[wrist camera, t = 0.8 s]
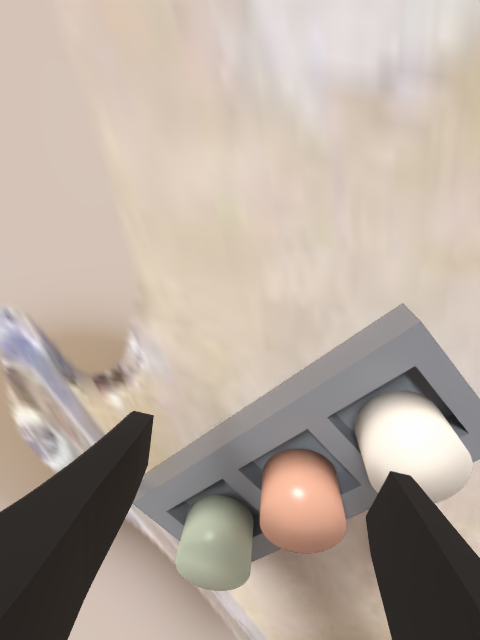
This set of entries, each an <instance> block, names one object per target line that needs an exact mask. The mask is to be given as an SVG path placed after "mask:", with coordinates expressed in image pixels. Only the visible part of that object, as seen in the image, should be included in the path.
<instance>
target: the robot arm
mask: <svg viewBox="0 0 480 640" xmlns="http://www.w3.org/2000/svg"><path fill="white" fill-rule="evenodd" d="M153 417H154V415H149V414H145V413H141V412H136V411H133V412H131V413H130V414H129V415H127V416H126V417H125V418H124V419H123V420H122V421H121V422H120V423H119V424H117V425H116V426H115V427H114V428H113V429H112V430H111V431H110V432H108V433H107V434H106V435H105V436H104V437H102V438H101V439H100V440H99V441H98V442H97V443H95V444H94V445H93V446H92V447H90V448H89V449H88V450H87V451H85V452H84V453H83V454H82V455H80V456H79V457H78V458H77V459H75V460H74V461H73V462H72V463H70V464H69V465H68V466H66V467H65V468H63V469H62V470H61V471H59V472H58V473H57V474H55V475H54V476H53V477H51V478H50V479H48V480H47V481H46V482H44V483H43V484H42V485H40V486H39V487H37V488H36V489H34V490H33V491H32V492H30V493H29V494H27V495H26V496H24V497H23V498H21V499H20V500H18V501H17V502H15V503H14V504H12V505H10V506H9V507H7V508H6V509H4V510H3V511H1V512H0V640H67V639H68V637H69V635H70V632H71V630H72V627H73V625H74V623H75V620H76V618H77V615H78V613H79V611H80V608H81V606H82V604H83V601H84V599H85V597H86V595H87V593H88V591H89V588H90V586H91V584H92V582H93V580H94V578H95V576H96V574H97V572H98V570H99V568H100V566H101V564H102V562H103V560H104V558H105V556H106V555H107V553H108V550H109V549H110V547H111V545H112V543H113V541H114V539H115V537H116V535H117V533H118V531H119V529H120V527H121V525H122V523H123V521H124V519H125V517H126V515H127V513H128V511H129V509H130V507H131V505H132V503H133V501H134V499H135V497H136V494H137V492H138V489H139V487H140V484H141V481H142V479H143V476H144V474H145V471H146V468H147V466H148V459H149V451H150V442H151V434H152V425H153ZM366 522H367V530H368V538H369V545H370V552H371V557H372V561H373V566H374V570H375V574H376V578H377V582H378V586H379V590H380V594H381V598H382V601H383V605H384V609H385V613H386V617H387V621H388V625H389V629H390V633H391V637H392V640H480V558H479V557H478V555H477V554H476V553H475V552H474V551H473V550H472V548H471V547H470V546H469V545H468V544H467V542H466V541H465V540H464V539H463V538H462V537H461V535H460V534H459V533H458V532H457V530H456V529H455V528H454V527H453V526H452V524H451V523H450V522H449V521H448V520H447V518H446V517H445V516H444V515H443V513H442V512H441V511H440V510H439V509H438V507H437V506H436V505H435V504H434V503H433V501H432V500H431V499H430V498H429V496H428V495H427V494H426V493H425V492H424V490H423V489H422V488H421V487H420V486H419V485H418V483H417V482H416V481H415V480H414V479H413V478H412V477H411V476H410V475H406V474H402V473H398V472H393V471H390V472H389V474H388V476H387V478H386V480H385V482H384V483H383V485H382V487H381V489H380V491H379V493H378V495H377V496H376V498H375V500H374V502H373V504H372V506H371V508H370V509H369V511H368V513H367V515H366Z"/></svg>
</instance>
